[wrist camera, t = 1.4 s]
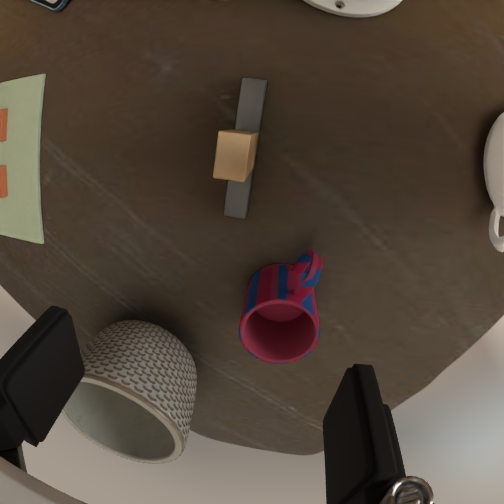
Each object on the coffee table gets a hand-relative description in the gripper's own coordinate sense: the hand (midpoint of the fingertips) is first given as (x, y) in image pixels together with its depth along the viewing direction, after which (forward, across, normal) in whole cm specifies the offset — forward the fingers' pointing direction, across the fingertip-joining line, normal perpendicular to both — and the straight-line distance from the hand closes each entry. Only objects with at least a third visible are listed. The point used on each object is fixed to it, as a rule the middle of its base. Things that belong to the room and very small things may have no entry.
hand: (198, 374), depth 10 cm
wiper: (+21, +1, -5) cm, 21 cm away
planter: (+20, +10, +19) cm, 30 cm away
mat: (+21, +32, -2) cm, 38 cm away
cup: (+21, -4, +7) cm, 22 cm away
